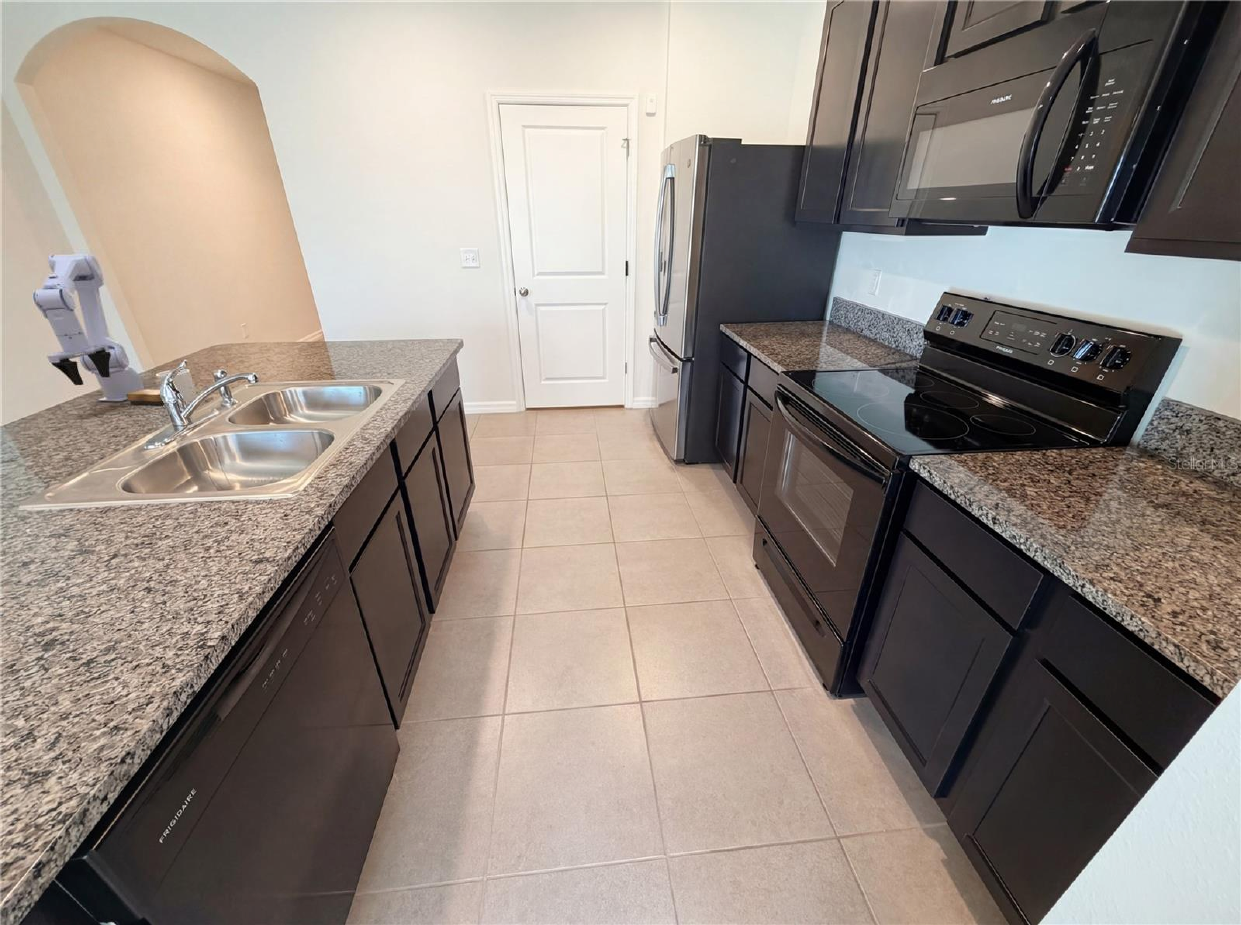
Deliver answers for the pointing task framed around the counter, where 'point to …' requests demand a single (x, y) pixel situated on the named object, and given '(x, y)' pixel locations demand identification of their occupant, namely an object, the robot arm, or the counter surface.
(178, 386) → the white cup
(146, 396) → the scrub brush
